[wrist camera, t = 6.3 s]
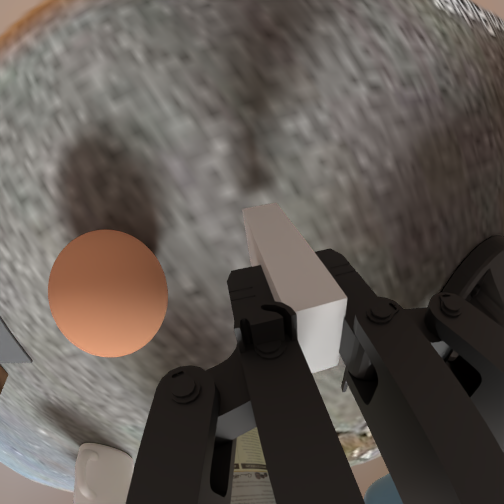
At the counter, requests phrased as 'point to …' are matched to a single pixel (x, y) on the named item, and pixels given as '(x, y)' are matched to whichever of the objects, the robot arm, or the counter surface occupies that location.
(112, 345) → the ball
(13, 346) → the pin deck mark
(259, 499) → the coffee can
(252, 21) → the counter surface
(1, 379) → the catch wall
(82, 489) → the mug
